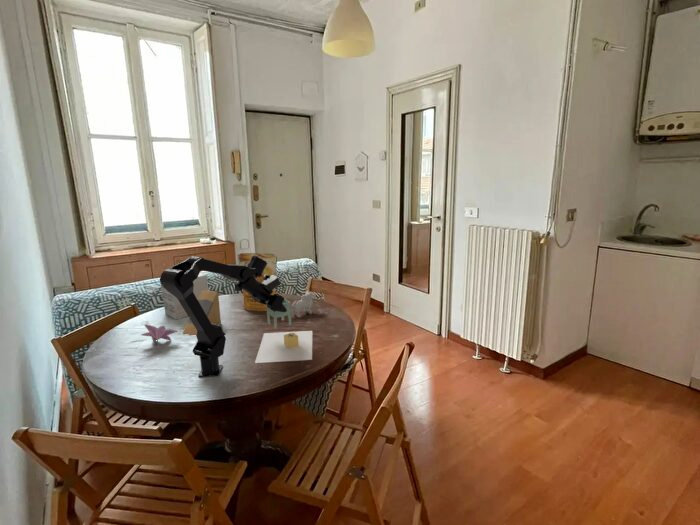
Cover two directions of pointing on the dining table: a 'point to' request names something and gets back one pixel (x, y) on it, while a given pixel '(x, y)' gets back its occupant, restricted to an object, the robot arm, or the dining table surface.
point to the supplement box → (173, 304)
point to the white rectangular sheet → (284, 348)
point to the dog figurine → (303, 303)
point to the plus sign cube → (291, 340)
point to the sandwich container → (206, 310)
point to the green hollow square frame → (279, 313)
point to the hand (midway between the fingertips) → (281, 308)
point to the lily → (158, 332)
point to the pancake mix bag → (258, 278)
